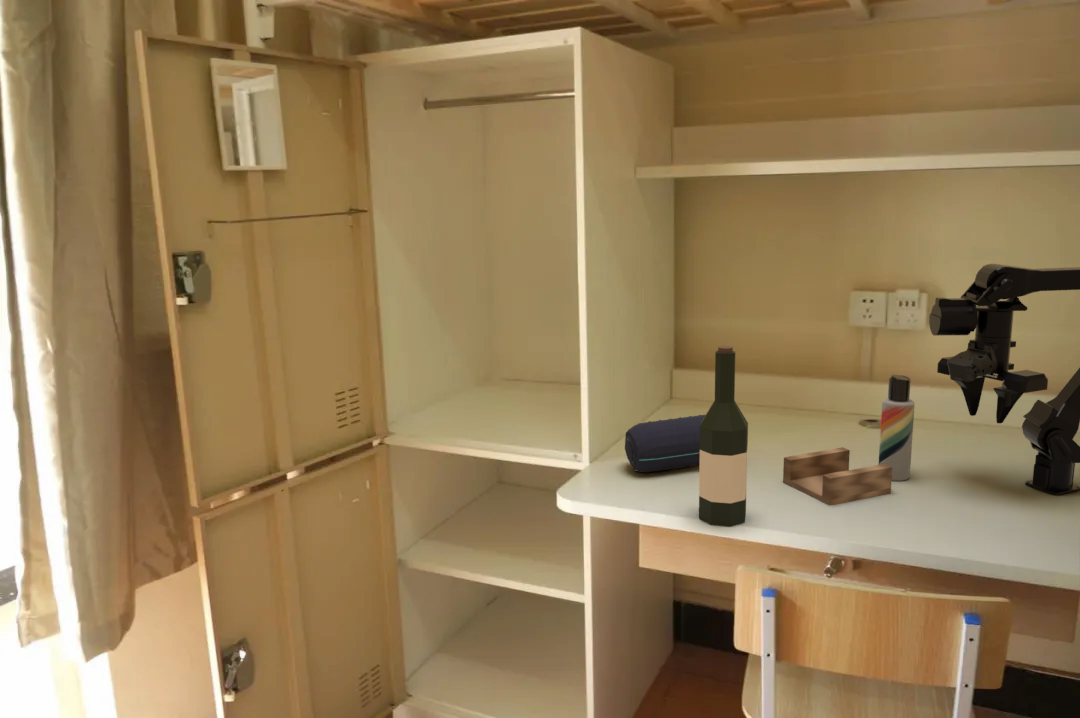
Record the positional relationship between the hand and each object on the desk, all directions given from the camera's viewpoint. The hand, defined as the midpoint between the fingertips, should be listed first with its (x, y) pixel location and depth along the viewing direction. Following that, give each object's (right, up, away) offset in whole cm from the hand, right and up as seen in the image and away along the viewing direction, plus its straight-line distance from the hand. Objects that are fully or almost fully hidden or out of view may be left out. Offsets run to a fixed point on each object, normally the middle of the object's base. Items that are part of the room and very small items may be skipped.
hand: (986, 419), depth 151 cm
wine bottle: (-50, -17, -8) cm, 53 cm away
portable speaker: (-52, -11, +19) cm, 57 cm away
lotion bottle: (-13, -12, +9) cm, 20 cm away
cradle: (-26, -13, +4) cm, 29 cm away
